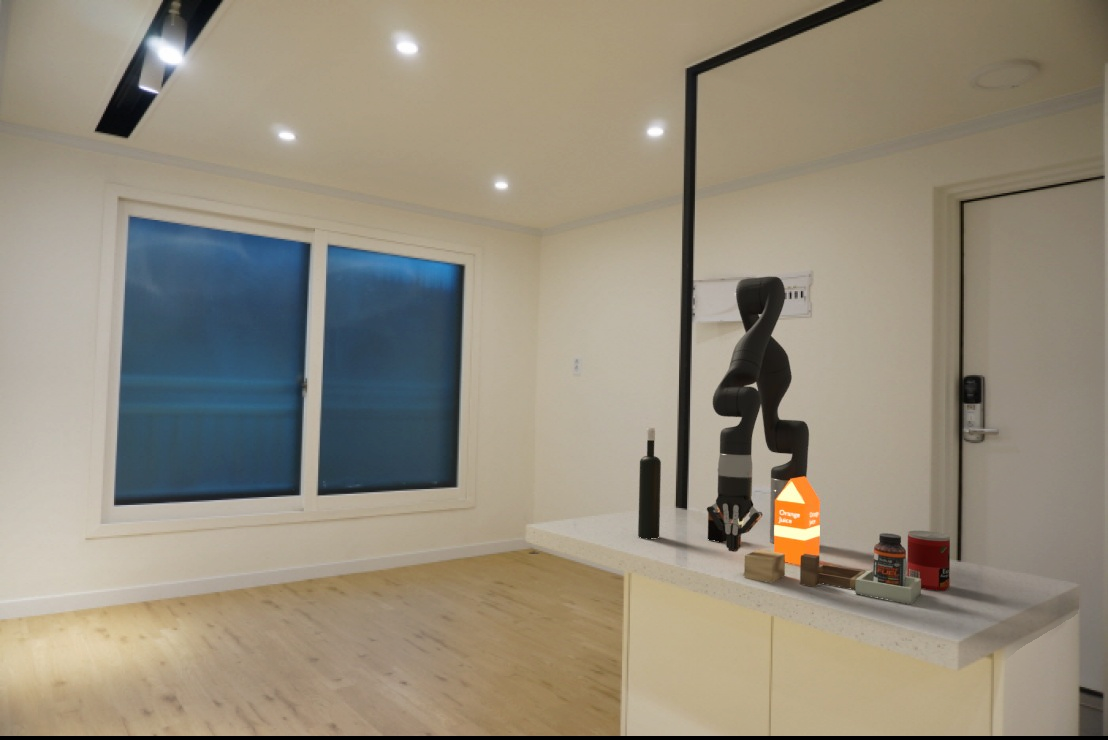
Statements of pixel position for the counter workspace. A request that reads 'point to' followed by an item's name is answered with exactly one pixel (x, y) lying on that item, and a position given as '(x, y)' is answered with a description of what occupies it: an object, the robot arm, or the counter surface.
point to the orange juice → (797, 521)
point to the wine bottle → (649, 491)
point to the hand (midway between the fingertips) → (733, 550)
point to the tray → (888, 588)
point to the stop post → (809, 569)
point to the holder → (838, 576)
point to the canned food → (929, 559)
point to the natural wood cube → (764, 565)
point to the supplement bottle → (889, 560)
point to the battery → (715, 530)
